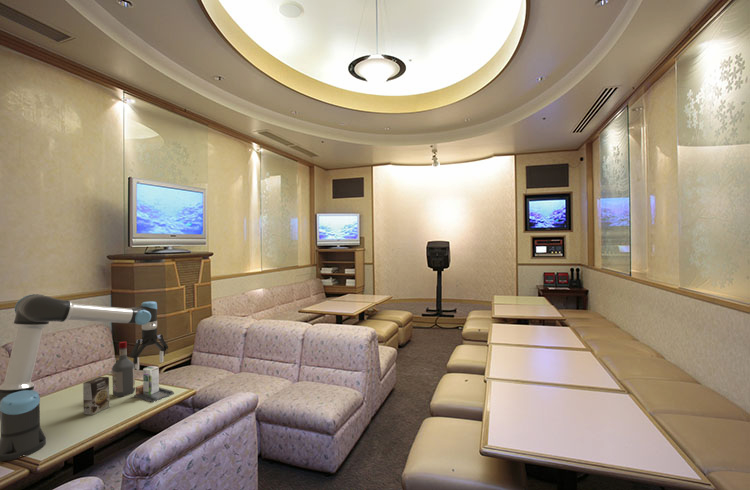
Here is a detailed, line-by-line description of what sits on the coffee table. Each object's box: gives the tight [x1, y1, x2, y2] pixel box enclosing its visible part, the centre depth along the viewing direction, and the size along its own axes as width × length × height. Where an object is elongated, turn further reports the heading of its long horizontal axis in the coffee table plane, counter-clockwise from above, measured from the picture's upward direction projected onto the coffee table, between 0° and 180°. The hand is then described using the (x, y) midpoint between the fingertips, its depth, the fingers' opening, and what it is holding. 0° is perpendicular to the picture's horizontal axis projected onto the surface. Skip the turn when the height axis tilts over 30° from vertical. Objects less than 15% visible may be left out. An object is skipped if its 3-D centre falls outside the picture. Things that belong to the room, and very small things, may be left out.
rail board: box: [133, 384, 175, 403], centre depth 199 cm, size 12×18×5 cm, turn 63°
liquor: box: [111, 340, 136, 398], centre depth 202 cm, size 9×9×30 cm
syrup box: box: [142, 365, 160, 395], centre depth 200 cm, size 6×6×14 cm
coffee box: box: [82, 376, 110, 416], centre depth 182 cm, size 9×6×16 cm
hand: (149, 365), depth 200 cm, fingers open, 13 cm apart
